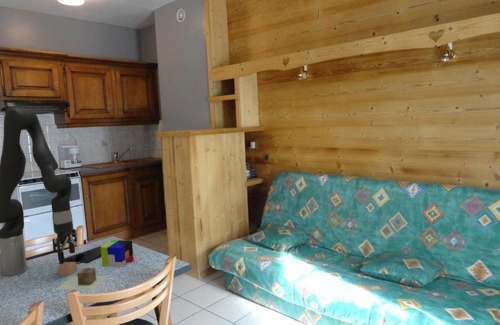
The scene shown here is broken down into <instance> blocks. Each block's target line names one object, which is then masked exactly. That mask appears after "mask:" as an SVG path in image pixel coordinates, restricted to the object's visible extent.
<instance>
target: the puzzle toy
mask: <svg viewBox="0 0 500 325" xmlns="http://www.w3.org/2000/svg"><path fill="white" fill-rule="evenodd" d="M133 247H134V246H133V240H129V239H128V240H127V239H125V240H122V239H113V240H111V241H109V242H107V243H106V244H103V245H102V246H101V256H100V257H101V266H102V267H124V266H125V265H126V264H128V263H133V262H134V261H135V260H134V249H133Z"/></svg>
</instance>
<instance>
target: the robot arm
mask: <svg viewBox="0 0 500 325" xmlns="http://www.w3.org/2000/svg"><path fill="white" fill-rule="evenodd" d="M22 131H26V132H27V133H28V135H29V136H30V139H31V143H32V144H31V146H32V148H31V149H32V157H33V159H34V161H35V163H36V165H37V167H38V168H39V170H40V173H41V179H42V183H43V187H44V188H45V189H46V191H48V192H49V193H51V194H55V193H56V195H55V197H53V198H52V199H51V201H50V205H51V212H52V215H51V217H52V219H51V220H52V225H53V233H54V234H56V237H55V238H52V239H51V240H52V249H53V250H52V251H53V254H54V253H56V254H57V260H58V262H59V261H63V260H64V258H65V253H64V250H65V248H66V246H67V245H68V251H69V254H74V253H75V254H76V249H75V244H76V242H78V238H77V231H76V228H74V221H73V214H72V208H71V203H70V199H71V194H72V193H71V192H72V187H73V186H72V185H73V184H72V180H71V177H69V175H67V174H63V173H62V174H57V175H56V172H55V171H56V170H57V169H58V168H59V164H58V162H57V160H56V158H55V156H54V155H53V153H52V151H51V149H50V147H49V145H48V143H47V140H46V138H45V135H44V131H43V128H42V126H41V123H40V120H39V118H38V115H37V113H36V111H34V110H33V109H31V108H27V107H26V108H25V107H11V108H9V109H7V110H6V112H5V114H4V117H3V140H2V149H1V157H0V224H4V225H3V226H2V227H1V229H0V275H1V276H2V275H3V276H6V277H12V276H17V275H21V274H23V273H25V272H26V271H28V265H27V264H28V263H27V254H26V247H25V238H24V237H25V236H24V228H25V214H24V213H25V212H24V207H23V204H22V203H21V201H20V200H18V199H16V198H12V196H13V193H14V191H15V190H16V188H17V187H18V185H19V184H20V182H21V181H22V179H23V177H24V176H25V172H26V164H27V158H26V155H25V152H24V151H23V150H24V149H23V148H22V146H21V134H22Z"/></svg>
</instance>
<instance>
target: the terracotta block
mask: <svg viewBox="0 0 500 325" xmlns="http://www.w3.org/2000/svg"><path fill="white" fill-rule="evenodd" d="M57 267H58V268H57V269H58V275H59V276H62V275H63V276H71V275H72V274H73V273H74V272H76V271H77V264H76V262H64V263H63V264H59V266H57Z"/></svg>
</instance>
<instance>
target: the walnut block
mask: <svg viewBox="0 0 500 325" xmlns="http://www.w3.org/2000/svg"><path fill="white" fill-rule="evenodd" d="M76 274H77V275H76V276H77V277H78V285H91V284H92V283H93V282H94V281H95V280H96V276H97V272H96V267H83V268H81V269H80V271H78V272H77V273H76Z"/></svg>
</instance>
